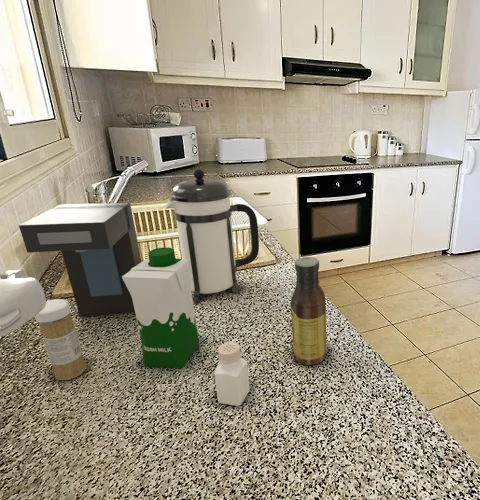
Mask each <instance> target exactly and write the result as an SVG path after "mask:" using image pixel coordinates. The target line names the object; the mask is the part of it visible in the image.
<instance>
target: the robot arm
mask: <svg viewBox="0 0 480 500" xmlns="http://www.w3.org/2000/svg"><path fill="white" fill-rule="evenodd" d="M46 301H47V299H46V295H45V291H44V288H43V286H42V283H41V282H40V281H39V280H38V279H37V278H35V277H26V274H25V271H24V270H23V269H11V270H5V272H3V273H1V274H0V338H3V337H4V336H7V335H9V334H11V333H12V332H14V331H16V330H18V329H19V328H20V327H22V326H23V325H25V324H26V323H27V322H29V321H30V320H32V319H33V318H35V315H37V314H38V313H39V312H40V311H42V310H43V309H44V308H45V306H46Z"/></svg>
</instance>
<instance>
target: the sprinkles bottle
mask: <svg viewBox="0 0 480 500" xmlns="http://www.w3.org/2000/svg"><path fill="white" fill-rule="evenodd" d="M71 314H72V309H71V306H70V302H69V301H68V300H67V299H63V298H54V299H49V300H46V306H45V308H44V309H43V310H42V311H40V312H39V313H38V314H37V315H35V316H34V319H35V321H36V322H37V323H38V326H39V329H40V330H39V331H40V333H41V336H42V340H43V343H44V346H45V350H46V354H47V356H48V359H49V362H50V363H51V366H52V369H53V372H54V378H55V379H56V380H58V381H71V380H73V379H75V378H78V377H80V376H82V374H83V373H85V372H86V370H87V364H86V363H85V359H84V355H83V349H82V346H81V342H80V339H79V336H78V333H77V329H76V326H75V325H74V321H73V317H72V315H71Z"/></svg>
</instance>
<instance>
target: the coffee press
mask: <svg viewBox="0 0 480 500" xmlns="http://www.w3.org/2000/svg"><path fill="white" fill-rule="evenodd" d="M193 177H194V179H193V178H192V179H188V180H183V181H180V182H178V183H177V184H175V185H174V186H173V188H172V191H171V192H170V194H169V196H170V198H168V200H167V201H166V205H165V207H164V208H165V209H166V210H168V209H173V215H174V220H175V221H176V228H177V235H178V241H179V248H180V255H181V259H188V260H189V271H190V285H191V292H193V296H192V299H193V303H198V304H199V303H201V302H202V300H203V298H204V296H205V294H216V293H219V292H224V291H226V290H228V289H230V291H232V292H233V293H234V294H235V295H237V294H239V293H240V292H241V291H242V287H241V286H240V285H239V283H238V281H237V279H238V277H237V272H238V268H239V267H243V266H246V265H249V264H251V263H253V262H254V261H255V260H256V259H257V258H258V255H259V253H260V252H259V250H260V237H259V225H258V224H259V223H258V219H257V218H258V217H257V215H256V213H255V211H254V210H253V208H252V207H250V206H248V205H247V204H243V203H236V204H231V203H230V202H231V201H230V198H231V196H232V195H231V194H232V193H231V190H230V189H229V188H228V186H227V184H225V183H224V182H222V181H221V180H219V179H213V178H205V172H204V171H203V170H202V169H200V168H198V169H195V170H194V171H193ZM233 212H243V213H245V214H246V215H247V217H248V220H249V221H248V222H249V232H250V243H251V244H250V245H251V249H250V253H249V254H248V255H247V256H245V257H243V258H238V259H236V254H235V243H234V234H233V224H232V223H233V221H232V215H233Z"/></svg>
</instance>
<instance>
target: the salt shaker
mask: <svg viewBox="0 0 480 500" xmlns="http://www.w3.org/2000/svg"><path fill="white" fill-rule="evenodd" d="M241 353H242V352H241V346H240V344H239V343H238V342H235V341H227V342H224V343H222V344H221V345H220V346H218V349H217V355H218V362H219V363H218V365H217V366H216V367H215V370H214V374H213V375H214V381H215V382H214V383H215V389H216V395H217V401H218V403H220V404H223V405H230V406H236V407H239V406H241V405H242V404H243V403H244V401H245V399H246V397H247V396H248V394H249V392H250V389H251V387H250V377H249V367H248V361H247V360H246V359H244V358H242V354H241Z"/></svg>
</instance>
